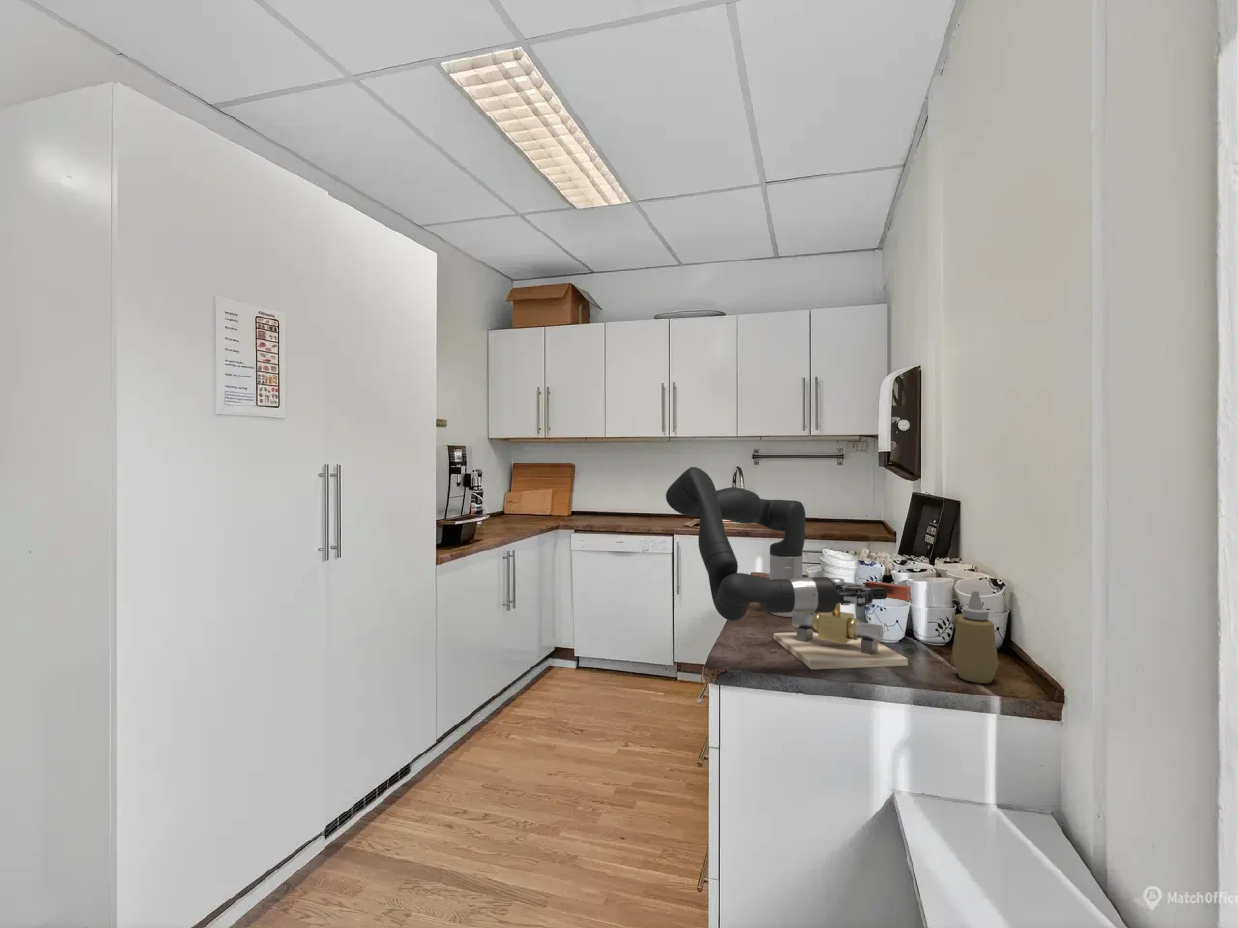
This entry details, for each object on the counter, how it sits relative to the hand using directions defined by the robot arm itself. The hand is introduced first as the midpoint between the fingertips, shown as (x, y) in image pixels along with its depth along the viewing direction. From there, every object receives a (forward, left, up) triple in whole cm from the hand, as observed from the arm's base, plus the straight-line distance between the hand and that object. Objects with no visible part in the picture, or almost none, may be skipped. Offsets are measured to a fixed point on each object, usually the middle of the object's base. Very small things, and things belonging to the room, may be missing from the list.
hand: (884, 593), depth 129 cm
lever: (-6, -1, -1) cm, 6 cm away
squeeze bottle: (+9, +15, -16) cm, 23 cm away
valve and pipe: (-11, -5, -14) cm, 19 cm away
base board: (-11, -5, -16) cm, 20 cm away
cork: (+1, +19, -16) cm, 25 cm away
